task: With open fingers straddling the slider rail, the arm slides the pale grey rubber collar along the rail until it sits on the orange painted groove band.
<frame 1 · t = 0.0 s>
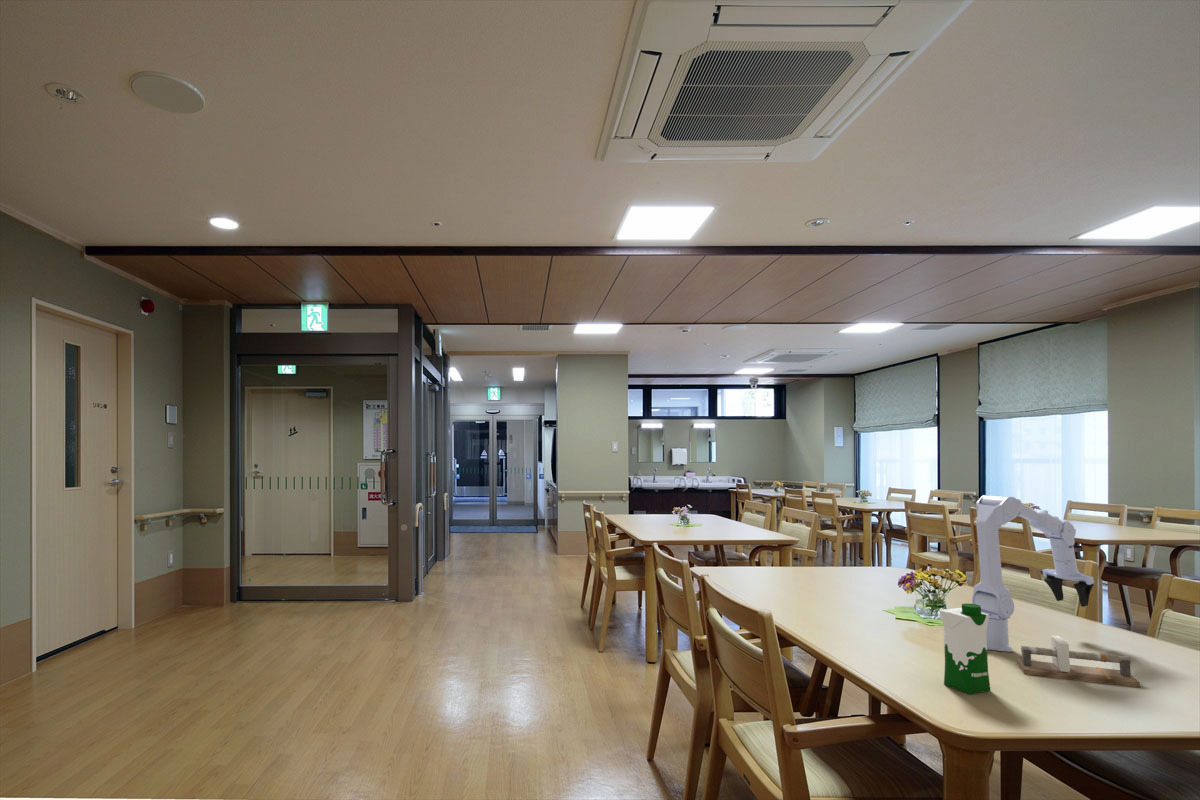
hand: (1072, 602, 200), 11 cm above the table, tool pointing down, fingers open, 7 cm apart
collar: (1060, 653, 168), point 5 cm above the table, slide at 0.0 cm
milk carton: (966, 688, 157), on the table
slider rail: (1075, 674, 166), on the table
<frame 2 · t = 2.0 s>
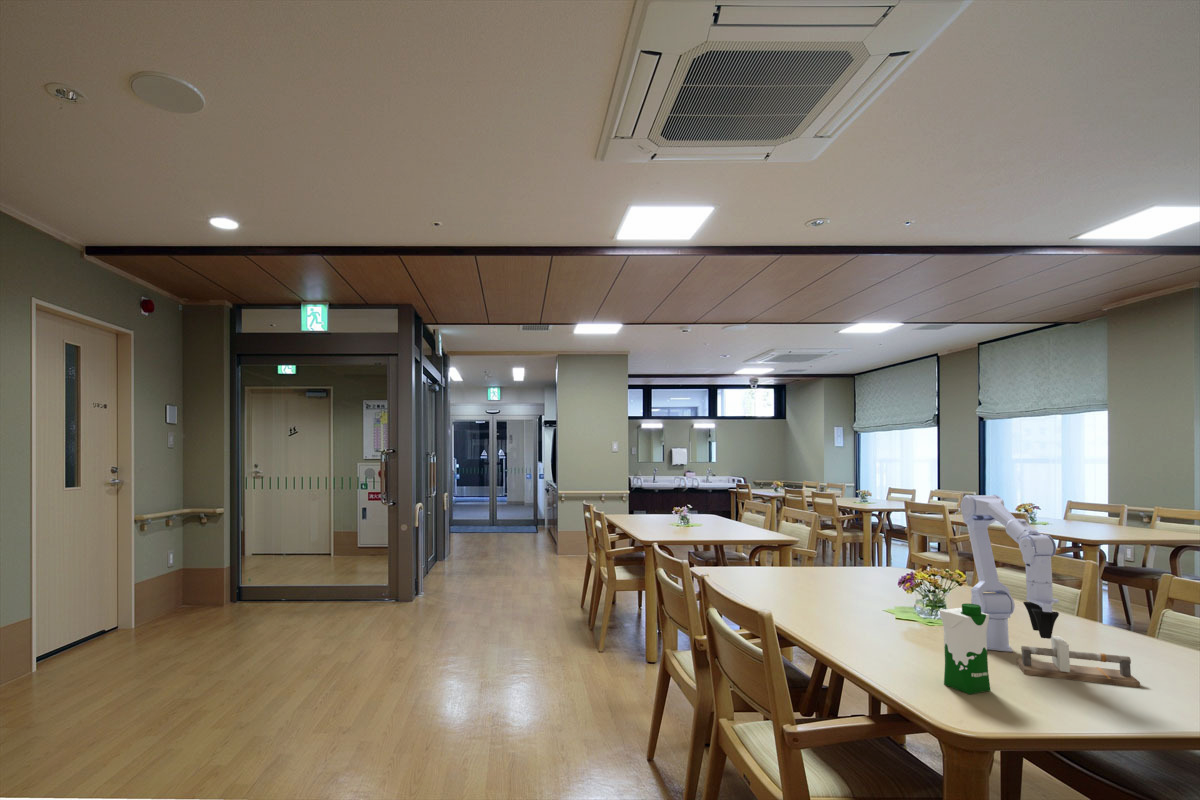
hand: (1041, 634, 170), 9 cm above the table, tool pointing down, fingers open, 7 cm apart
nothing on the table moved.
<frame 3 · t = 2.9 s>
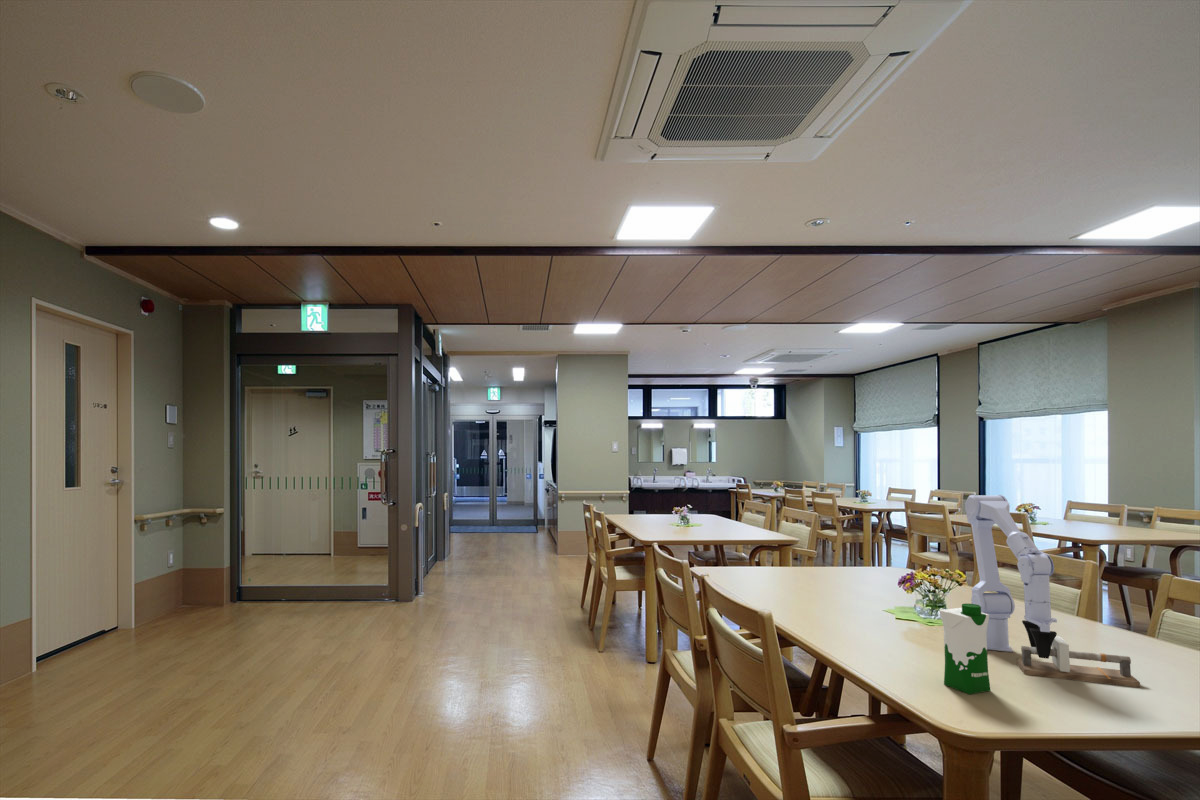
hand: (1040, 653, 169), 4 cm above the table, tool pointing down, fingers open, 7 cm apart
nothing on the table moved.
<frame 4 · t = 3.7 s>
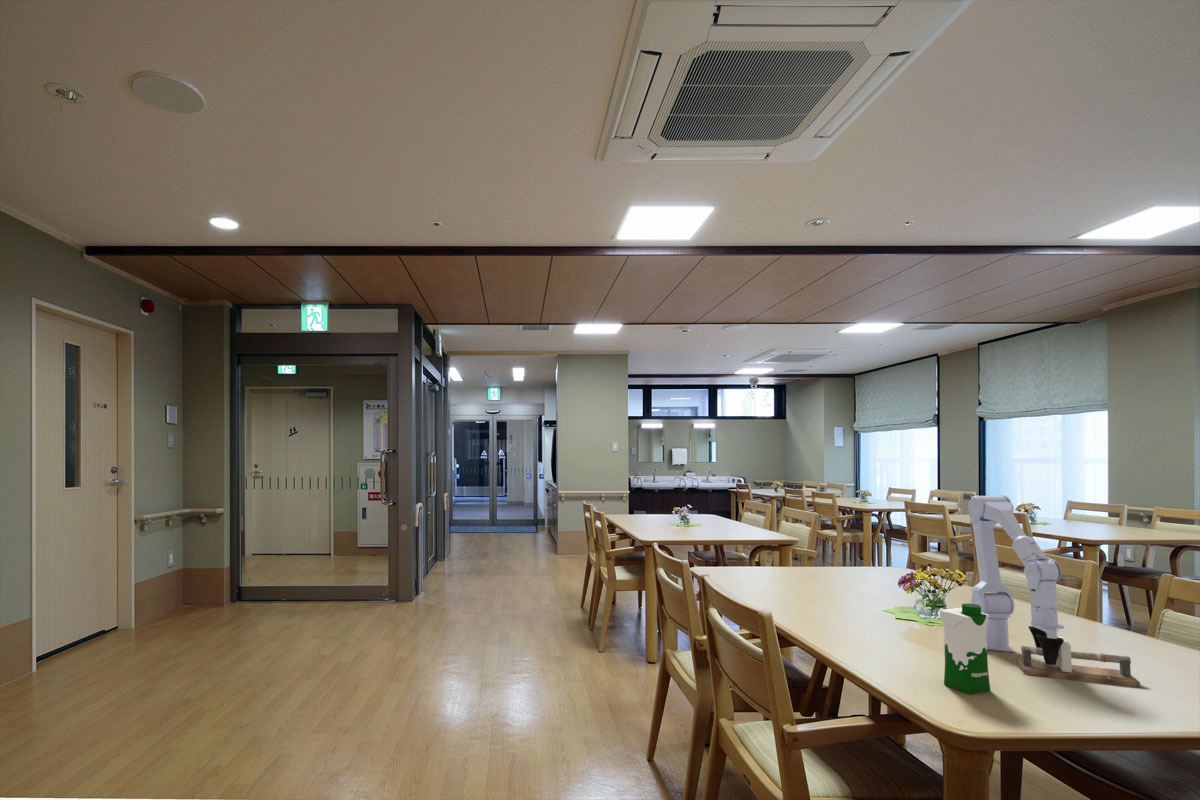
hand: (1046, 659, 169), 3 cm above the table, tool pointing down, fingers open, 7 cm apart
collar: (1062, 653, 168), point 5 cm above the table, slide at 0.4 cm, touching gripper
everything else where it was.
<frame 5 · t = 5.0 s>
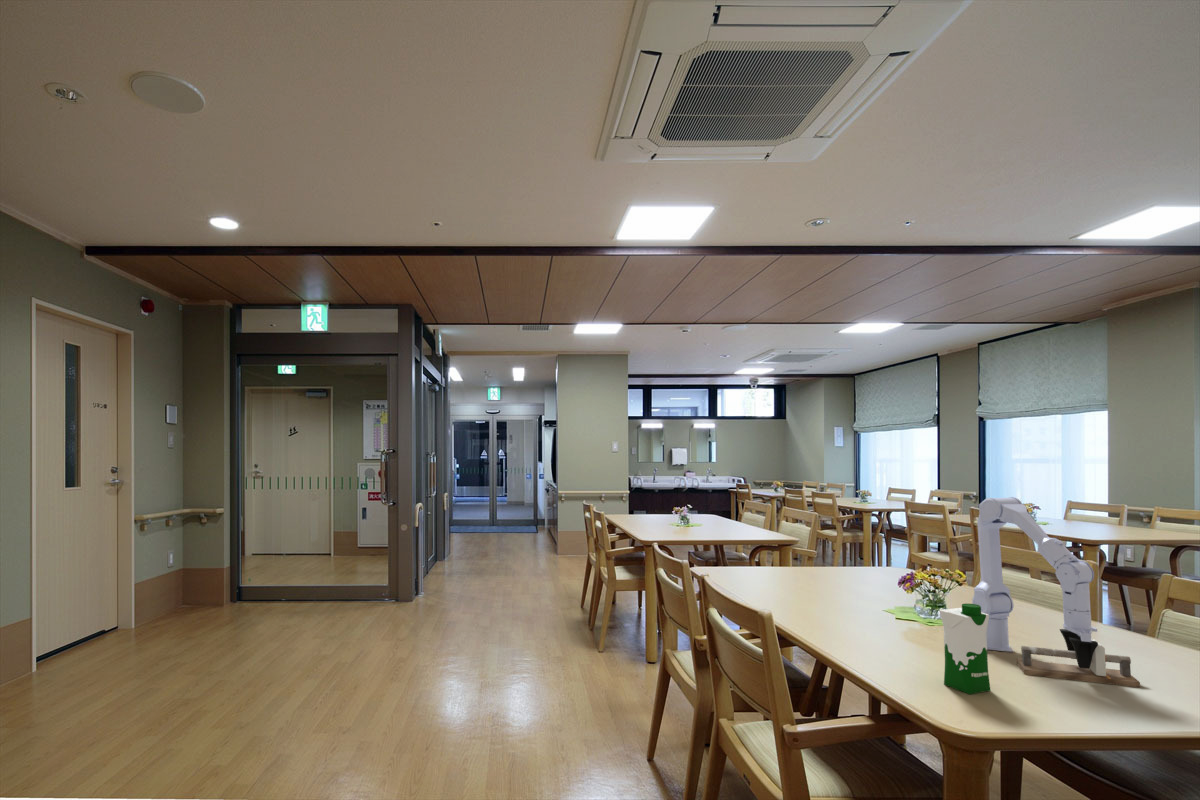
hand: (1079, 663, 166), 3 cm above the table, tool pointing down
collar: (1095, 656, 165), point 5 cm above the table, slide at 7.5 cm, touching gripper
everything else where it was.
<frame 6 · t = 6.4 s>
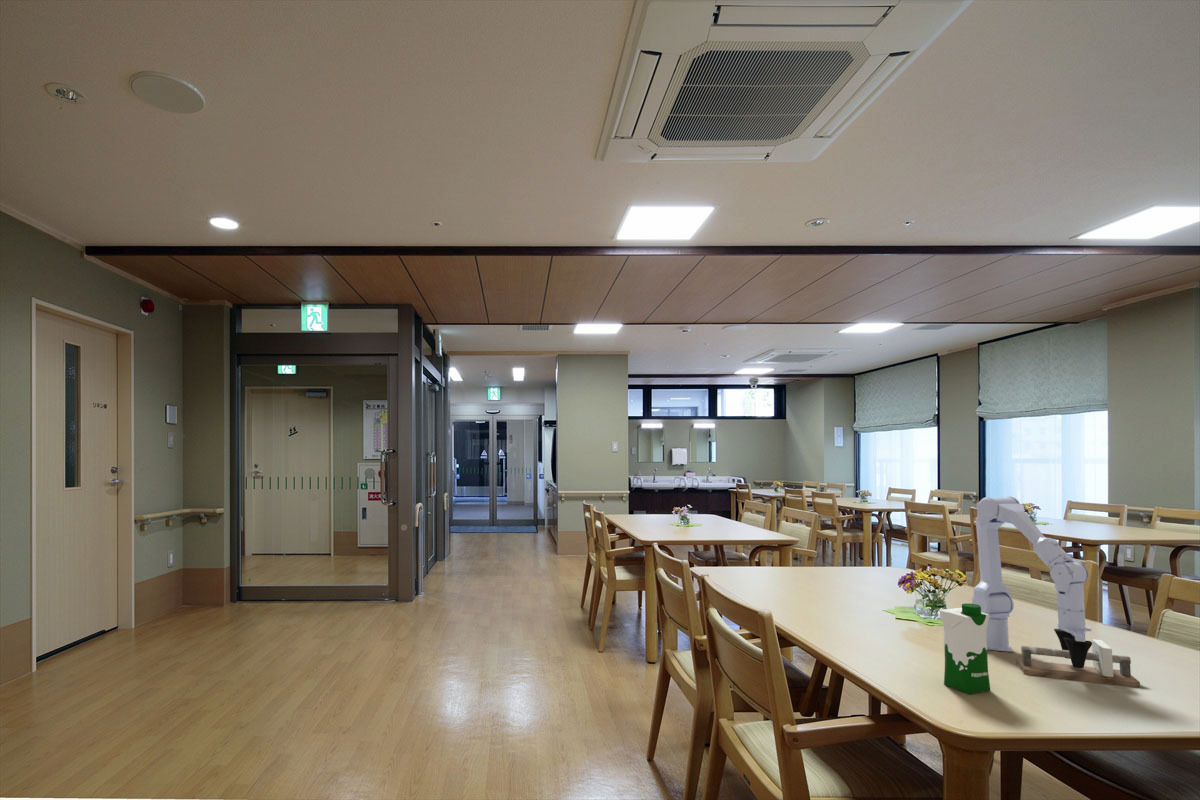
hand: (1073, 662, 167), 3 cm above the table, tool pointing down, fingers open, 7 cm apart
collar: (1102, 657, 164), point 5 cm above the table, slide at 8.9 cm
everything else where it was.
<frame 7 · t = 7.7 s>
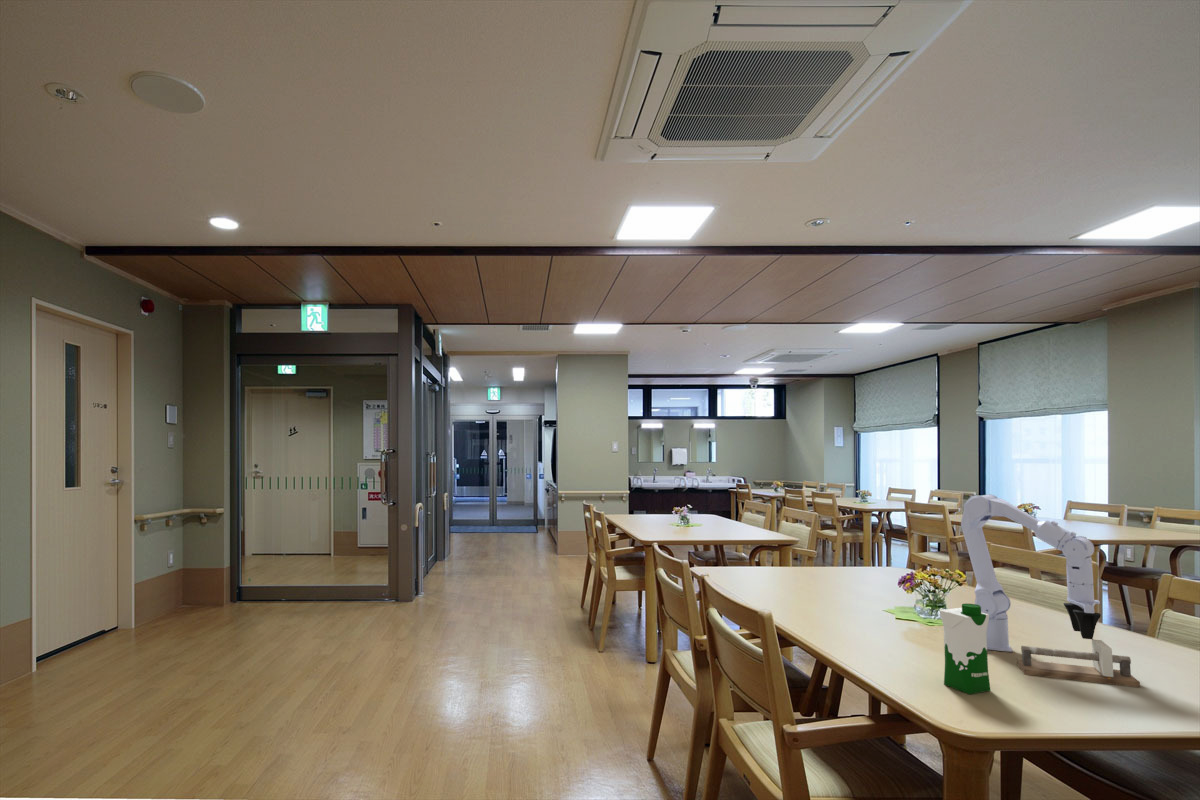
hand: (1082, 634, 173), 8 cm above the table, tool pointing down, fingers open, 7 cm apart
nothing on the table moved.
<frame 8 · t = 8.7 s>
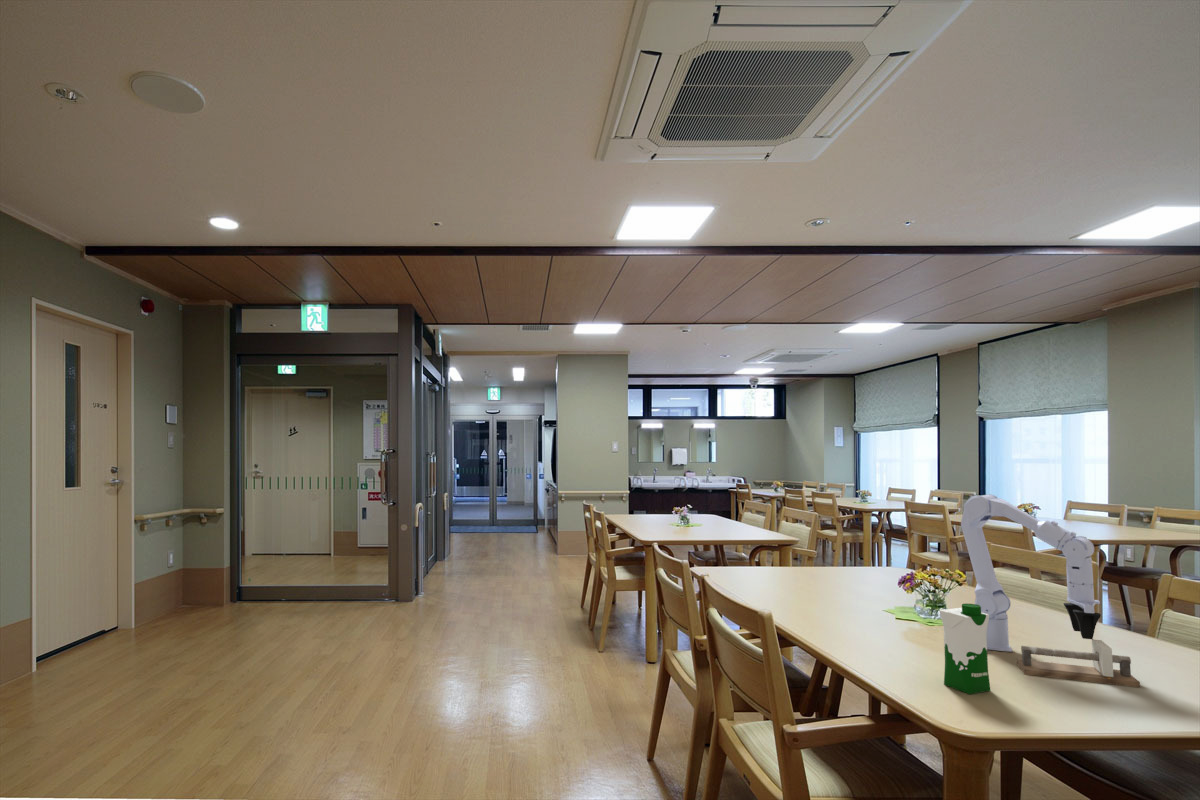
hand: (1082, 634, 173), 8 cm above the table, tool pointing down, fingers open, 7 cm apart
nothing on the table moved.
at the end: collar slide at 8.9 cm; the gripper is holding nothing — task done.
